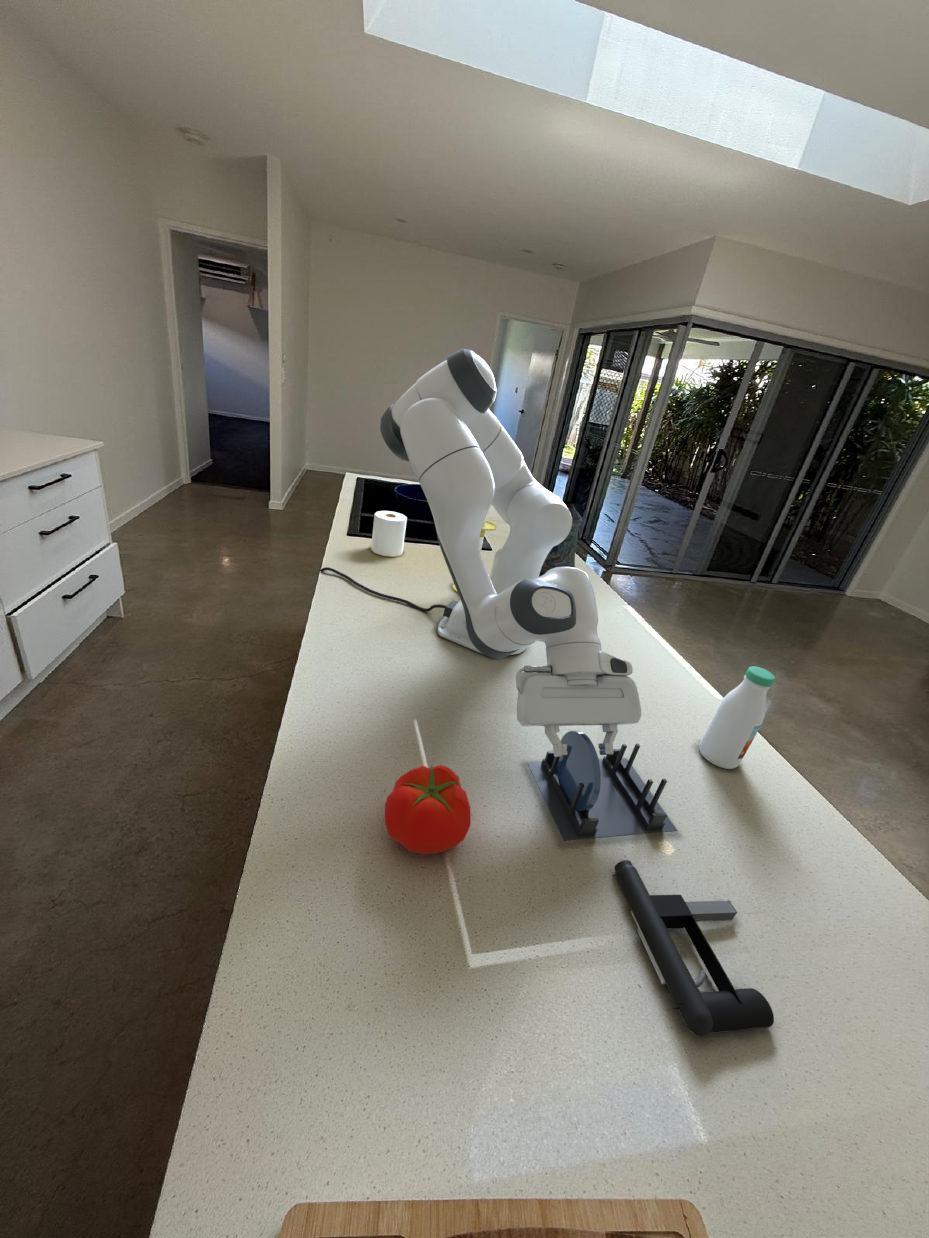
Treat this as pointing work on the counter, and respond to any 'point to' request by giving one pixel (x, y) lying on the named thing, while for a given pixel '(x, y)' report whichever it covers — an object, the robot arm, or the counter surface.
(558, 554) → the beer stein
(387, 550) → the toilet paper
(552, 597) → the robot arm
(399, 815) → the tomato
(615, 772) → the rack
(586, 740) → the plate
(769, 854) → the counter surface
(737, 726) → the milk bottle
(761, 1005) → the door handle
